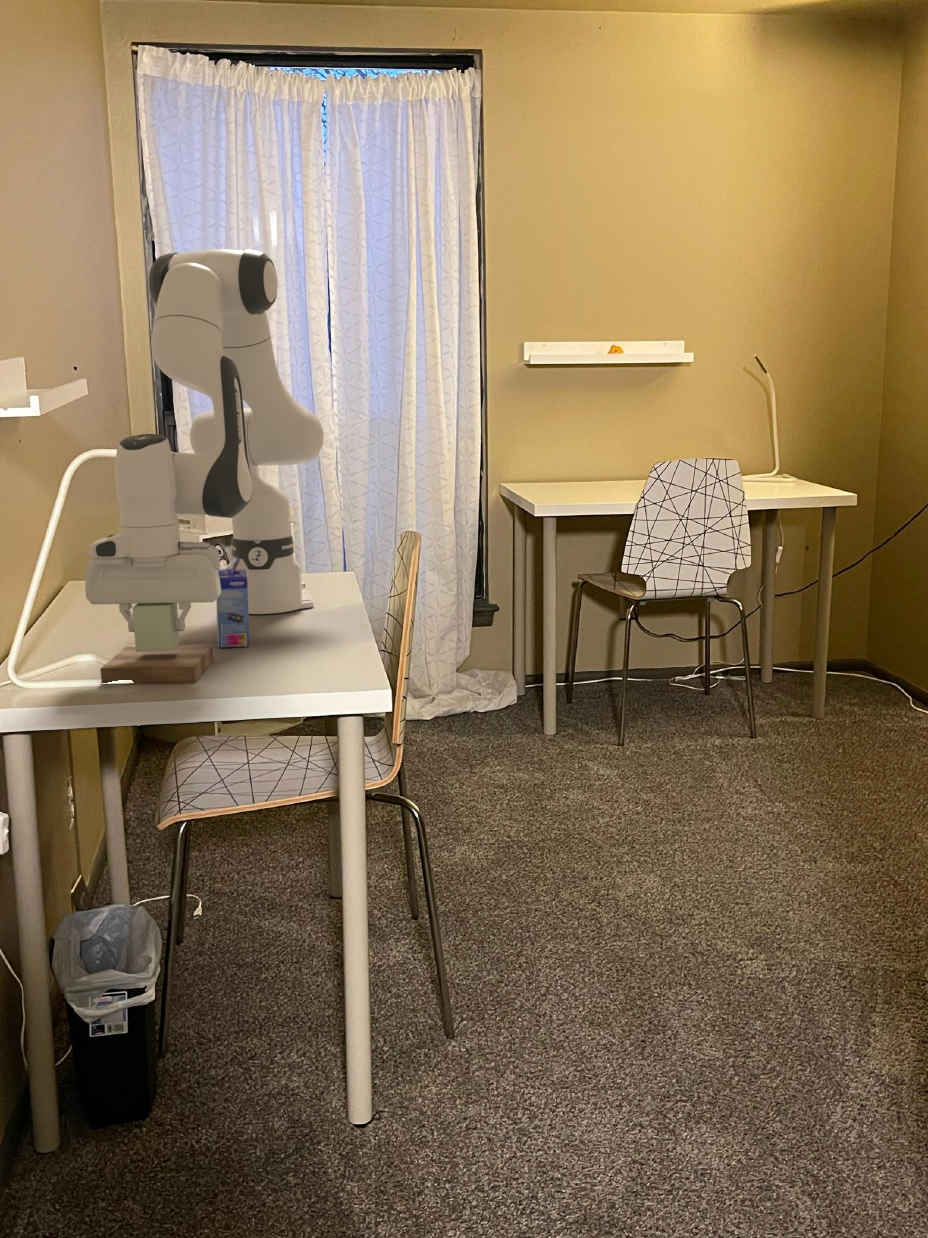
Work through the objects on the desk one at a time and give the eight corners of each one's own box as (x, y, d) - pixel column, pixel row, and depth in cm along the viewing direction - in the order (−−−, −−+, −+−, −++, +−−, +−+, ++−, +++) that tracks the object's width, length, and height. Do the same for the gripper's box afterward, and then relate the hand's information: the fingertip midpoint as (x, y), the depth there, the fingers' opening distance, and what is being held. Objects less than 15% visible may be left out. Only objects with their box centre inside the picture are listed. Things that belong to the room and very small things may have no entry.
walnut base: (127, 661, 188) (125, 646, 187) (213, 660, 188) (212, 645, 188) (101, 684, 174) (100, 668, 174) (195, 682, 174) (193, 666, 174)
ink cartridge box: (251, 647, 197) (247, 563, 194) (218, 649, 195) (213, 564, 192) (249, 634, 206) (244, 554, 203) (217, 636, 205) (212, 555, 202)
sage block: (145, 643, 183) (141, 600, 182) (179, 643, 183) (176, 599, 182) (135, 652, 178) (132, 607, 176) (171, 651, 178) (168, 606, 176)
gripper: (222, 538, 180) (227, 625, 183) (90, 540, 180) (98, 627, 183) (214, 544, 174) (220, 634, 177) (77, 546, 174) (85, 636, 177)
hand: (156, 630), depth 180 cm, fingers closed on sage block, 5 cm apart
